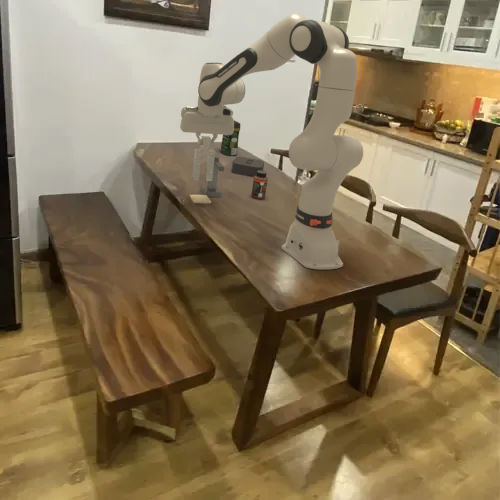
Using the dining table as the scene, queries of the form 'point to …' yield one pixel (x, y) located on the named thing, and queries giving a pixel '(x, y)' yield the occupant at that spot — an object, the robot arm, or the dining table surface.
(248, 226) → the dining table surface
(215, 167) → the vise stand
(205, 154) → the pale upright frame
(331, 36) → the robot arm
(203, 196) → the felt pad
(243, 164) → the streaming box
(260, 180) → the supplement bottle
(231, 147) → the coffee jar
